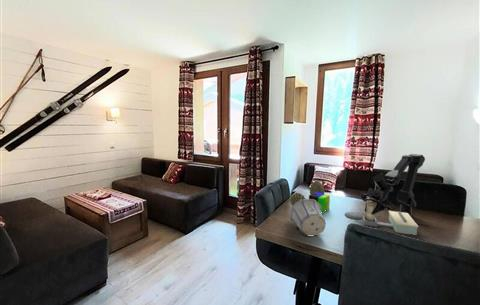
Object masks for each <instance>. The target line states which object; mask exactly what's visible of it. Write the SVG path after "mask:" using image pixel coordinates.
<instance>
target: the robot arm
mask: <svg viewBox="0 0 480 305" xmlns="http://www.w3.org/2000/svg"><path fill="white" fill-rule="evenodd" d="M425 160H426V158H425V156H424V155H423V154H417V153H416V154H415V153H410V154H408V155H407V154H403V155H402V156H401V158H400V160H399V161H398V163H396V165H395V167H394V168H393V169H392V170H389V171H388V172H387V173H386V174H384V173H382V172H379V174H375V175H374V176H372V181H373V182H374V184H375V185H376V186H377V189H372V188H368V192H367V194H366V193H360V194H359V198H360V199H361V200H362V201H363V203H364V202H365V207H364V212H365V213H366V209H367V204H366V201H374V202H376V204H375V209H374V210H373V212H372V215H374V216H375V214H377V213H378V214H379V213H380V212H382V211H387V210H388V211H395V210H396V206H395V205H394V204H393V202H392V201H389V200H388V198H389V197H388V196H389V194H390V192H394V187H393V186H398V185H399V184H400V181H401V176H402V174H403V173H404V172H405V170H406V169H407V171H406V172H407V173H406V176H405V179H404V182H403V187H402V189H400V190H398V191H397V194H396V203H397V204H399V205H400V210H398V211H397V212H403V213H408V214H409V215H410V216H411V217H414V215H413V214H412V211H413V209H412V208H416V206H417V202H416V200H415V194H414V192H413V188H414V186H415V181H416V178H417V174H418V171H419V169H421V167H423V165H424V163H425ZM369 195H370V196H369Z"/></svg>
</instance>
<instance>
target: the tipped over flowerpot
mask: <svg viewBox="0 0 480 305" xmlns="http://www.w3.org/2000/svg"><path fill="white" fill-rule="evenodd" d="M290 196H291V197H290V204H291V206H290V209H289V210H290V211H289V220H290V221H291V222H293V224H295V225H296V226H297V227H298V229H299V231H300V232H301V233H302V234H303V235H304V236H306V235H317V236H319V235H321V234H322V233H323V232H324V231H325V229H326V225H327V224H326V220H325V217H324V216H323V213H321V211H322V206H321V205H320V204H319V203H318V202H317V201H315V200H314V199H309V198H308V199H306V198H305V196H304V195H303V194H302V193H299V192H294V193H292V194H291V195H290Z"/></svg>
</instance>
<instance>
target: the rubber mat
mask: <svg viewBox="0 0 480 305" xmlns="http://www.w3.org/2000/svg"><path fill="white" fill-rule="evenodd" d="M344 216H345V217H346V218H349V219H352V220H362V219H363V215H362V214H360V213H357V212H351V211H349V212H345V213H344Z"/></svg>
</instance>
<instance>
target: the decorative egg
mask: <svg viewBox="0 0 480 305" xmlns="http://www.w3.org/2000/svg"><path fill="white" fill-rule="evenodd" d="M315 192H317V193H322V194H325V188H324V185H323V184H322V182H321V181H319V180H314V181H313V182H312V183H311V185H310V187H309V195H311V194H313V193H315Z"/></svg>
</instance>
